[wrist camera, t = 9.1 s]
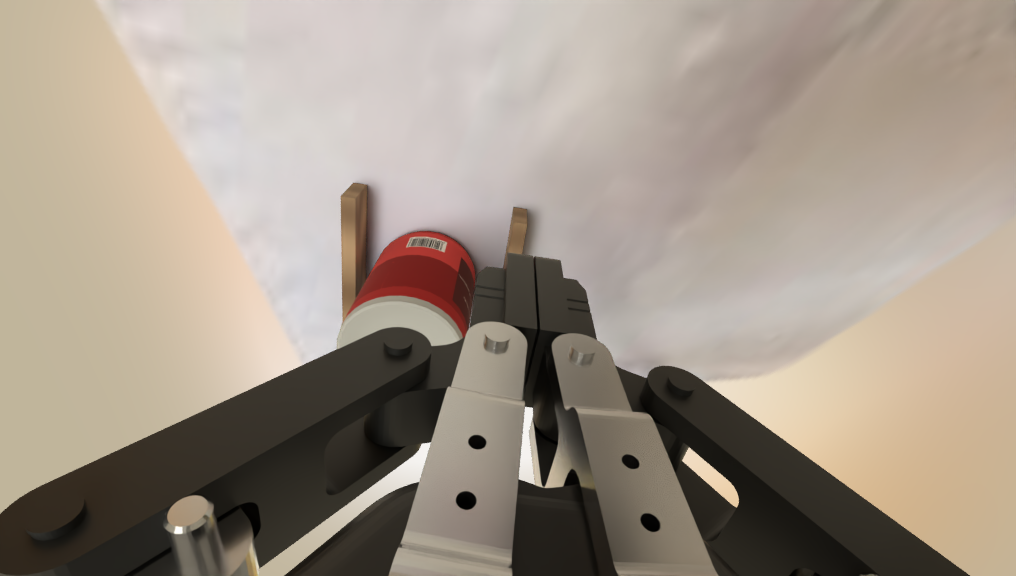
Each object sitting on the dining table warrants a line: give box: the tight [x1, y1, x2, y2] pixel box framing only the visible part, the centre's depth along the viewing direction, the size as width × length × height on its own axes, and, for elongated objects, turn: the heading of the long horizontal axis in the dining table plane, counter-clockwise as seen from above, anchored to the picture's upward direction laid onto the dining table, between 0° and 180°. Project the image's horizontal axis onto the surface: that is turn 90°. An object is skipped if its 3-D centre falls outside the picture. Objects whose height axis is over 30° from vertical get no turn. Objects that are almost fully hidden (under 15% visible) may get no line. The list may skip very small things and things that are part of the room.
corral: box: [341, 183, 527, 321], centre depth 39 cm, size 15×13×3 cm
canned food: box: [337, 231, 475, 349], centre depth 35 cm, size 8×8×11 cm
